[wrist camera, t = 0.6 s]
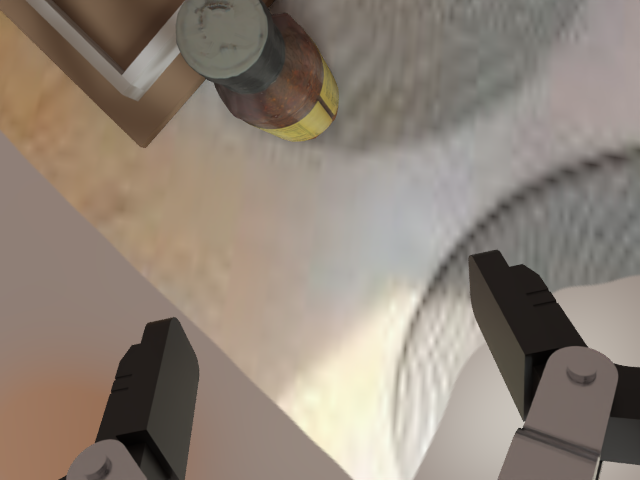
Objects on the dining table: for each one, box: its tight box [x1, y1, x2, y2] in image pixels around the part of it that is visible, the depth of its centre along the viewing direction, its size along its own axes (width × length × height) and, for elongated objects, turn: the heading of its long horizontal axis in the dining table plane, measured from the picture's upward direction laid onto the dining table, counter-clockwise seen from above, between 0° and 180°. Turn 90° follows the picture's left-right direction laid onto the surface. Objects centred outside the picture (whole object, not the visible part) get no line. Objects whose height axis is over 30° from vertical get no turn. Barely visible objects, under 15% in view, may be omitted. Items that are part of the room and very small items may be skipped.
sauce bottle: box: [176, 0, 339, 142], centre depth 31 cm, size 7×6×20 cm
